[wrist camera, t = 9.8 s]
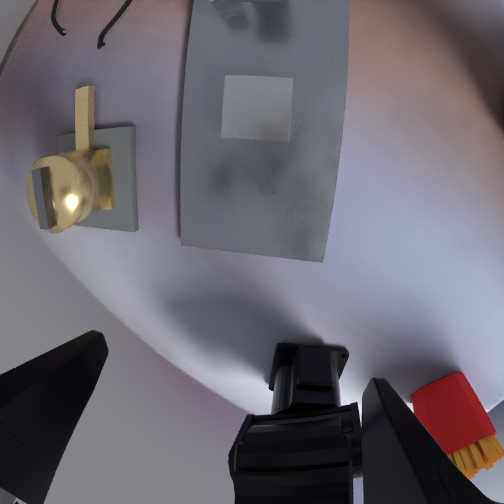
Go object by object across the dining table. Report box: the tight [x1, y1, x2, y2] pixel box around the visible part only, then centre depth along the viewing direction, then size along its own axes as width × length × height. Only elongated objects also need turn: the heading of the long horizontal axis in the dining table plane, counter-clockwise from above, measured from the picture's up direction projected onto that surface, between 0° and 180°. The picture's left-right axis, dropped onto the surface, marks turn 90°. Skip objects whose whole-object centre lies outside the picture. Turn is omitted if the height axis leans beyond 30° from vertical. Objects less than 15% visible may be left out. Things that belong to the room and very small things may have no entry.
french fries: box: [412, 373, 504, 479], centre depth 18 cm, size 9×4×13 cm, turn 117°
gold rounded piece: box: [27, 85, 116, 233], centre depth 15 cm, size 10×5×6 cm, turn 178°
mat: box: [57, 126, 138, 232], centre depth 19 cm, size 8×8×1 cm
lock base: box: [180, 0, 349, 263], centre depth 14 cm, size 19×10×5 cm, turn 176°
